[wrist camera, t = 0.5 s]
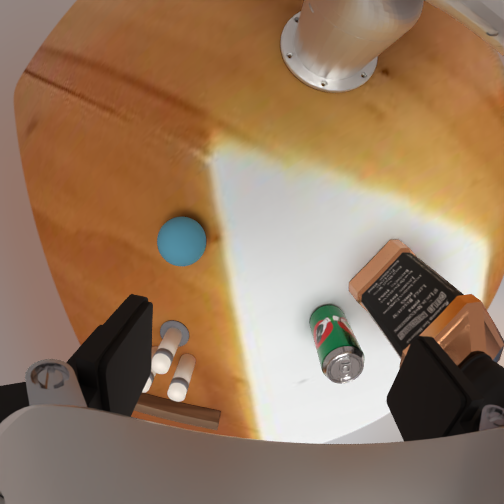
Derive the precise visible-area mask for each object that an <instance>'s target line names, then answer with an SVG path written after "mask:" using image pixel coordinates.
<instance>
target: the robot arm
mask: <svg viewBox="0 0 504 504" xmlns="http://www.w3.org/2000/svg"><path fill="white" fill-rule="evenodd" d="M424 1H426V2H428V3H429V4H431V5H433V6H434V7H436V8H439V9H441V10H442V11H444V12H445V13H447V14H448V15H450V16H451V17H453V18H454V19H456V20H457V21H459V22H460V23H461V24H463V25H464V26H466V27H467V28H468V29H470V30H471V31H472V32H474V33H475V34H476V35H478V36H479V37H480V38H481V39H483V40H484V41H485V42H486V43H488V44H489V45H490V46H492V47H493V48H494V49H495V50H496V51H498V52H499V53H500V54H502V55H503V56H504V0H424ZM422 7H423V0H304V2H303V6H302V10H301V11H300V12H298V13H297V14H295V15H294V16H293V17H292V18H291V19H290V20H289V21H288V22H287V24H286V25H285V27H284V29H283V32H282V35H281V53H282V57H283V59H284V61H285V64H286V65H287V67H288V68H289V70H290V71H291V72H292V73H293V74H294V75H295V76H296V77H297V78H298V79H299V80H300V81H302V82H303V83H305V84H306V85H308V86H310V87H312V88H314V89H317V90H320V91H324V92H331V93H342V92H347V91H351V90H353V89H356V88H358V87H359V86H361V85H362V84H364V83H365V82H366V81H367V80H369V78H370V77H371V76H372V74H373V73H374V71H375V68H376V65H377V59H378V55H379V54H380V53H382V52H383V51H384V50H385V49H387V48H388V47H389V46H390V45H391V44H393V43H394V42H395V41H396V40H398V39H399V38H400V37H401V36H402V35H404V34H405V33H406V32H407V31H409V30H410V29H411V28H412V27H413V26H414V25H415V24H416V22H417V21H418V19H419V17H420V15H421V12H422ZM295 21H298V23H297V22H295ZM287 56H291V58H288V57H287ZM361 75H362V76H363V77H364V78H362V77H361ZM321 84H324V85H325V86H324V87H323V86H321ZM152 315H153V304H152V303H151V302H148V298H147V297H143V296H138V295H133V294H131V295H129V297H128V298H127V299H126V300H125V301H124V302H123V303H122V304H121V305H120V306H119V308H118V309H117V310H116V311H115V312H114V313H113V314H112V315H111V316H110V318H109V319H108V320H107V321H106V322H105V323H104V324H103V325H100V326H98V327H97V328H96V329H95V330H94V332H93V333H92V334H91V335H90V336H89V337H88V338H87V339H86V341H85V342H84V343H83V344H82V345H81V346H80V347H79V349H78V350H77V351H76V352H75V353H74V354H73V356H72V357H71V358H70V359H69V360H68V361H67V363H65V362H63V361H61V360H55V359H45V360H41V361H38V362H36V363H34V364H32V365H31V366H30V367H29V368H28V370H27V372H26V376H25V379H26V382H22V383H16V384H10V385H4V386H0V504H504V409H503V408H501V407H499V406H496V405H486V406H485V407H483V409H482V410H480V409H479V407H480V405H481V404H482V402H483V400H484V398H483V397H482V396H481V394H480V393H479V392H478V391H477V389H476V388H475V387H474V386H473V384H472V383H471V382H470V381H469V379H468V378H467V377H466V376H465V375H464V373H463V372H462V371H461V370H460V369H459V367H458V366H457V365H456V364H455V363H454V361H453V360H452V359H451V358H450V357H449V355H448V354H447V353H446V352H445V351H444V350H443V348H442V347H441V346H440V345H439V344H438V343H437V342H436V340H435V339H434V338H433V337H429V336H418V337H417V338H416V339H414V340H413V341H412V342H411V344H410V346H409V349H408V351H407V354H406V356H405V358H404V361H403V363H402V365H401V367H400V370H399V372H398V374H397V376H396V378H395V381H394V383H393V385H392V387H391V389H390V391H389V393H388V395H387V405H388V407H389V409H390V411H391V413H392V415H393V418H394V420H395V422H396V424H397V426H398V429H399V431H400V433H401V435H402V437H403V440H404V442H391V443H375V444H308V443H290V442H276V441H265V440H256V439H247V438H239V437H231V436H224V435H217V434H211V433H205V432H199V431H194V430H189V429H184V428H179V427H174V426H169V425H165V424H160V423H155V422H151V421H146V420H142V419H137V418H133V417H131V415H132V412H133V410H134V408H135V406H136V404H137V402H138V400H139V397H140V395H141V393H142V391H143V389H144V387H145V385H146V383H147V381H148V378H149V376H150V373H151V366H152Z"/></svg>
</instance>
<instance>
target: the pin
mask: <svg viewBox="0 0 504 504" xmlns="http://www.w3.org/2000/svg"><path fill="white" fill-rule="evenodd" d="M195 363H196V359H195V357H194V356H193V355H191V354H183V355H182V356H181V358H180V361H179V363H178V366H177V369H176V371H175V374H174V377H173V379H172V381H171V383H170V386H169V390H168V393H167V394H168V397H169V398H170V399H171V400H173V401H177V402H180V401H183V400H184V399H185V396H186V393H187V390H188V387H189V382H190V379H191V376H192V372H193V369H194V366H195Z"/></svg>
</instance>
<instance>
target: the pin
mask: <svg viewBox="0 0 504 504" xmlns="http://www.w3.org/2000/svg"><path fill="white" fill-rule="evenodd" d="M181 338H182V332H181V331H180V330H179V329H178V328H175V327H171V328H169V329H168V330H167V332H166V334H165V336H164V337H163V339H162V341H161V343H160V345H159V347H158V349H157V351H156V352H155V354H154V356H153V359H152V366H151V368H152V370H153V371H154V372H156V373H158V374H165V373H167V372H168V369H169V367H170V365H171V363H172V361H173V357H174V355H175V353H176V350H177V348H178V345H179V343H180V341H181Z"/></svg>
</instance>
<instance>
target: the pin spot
mask: <svg viewBox="0 0 504 504" xmlns="http://www.w3.org/2000/svg"><path fill="white" fill-rule="evenodd" d="M171 327H175V328H178V329H179V330H180V331H181V332H182V338H181V341H180V343H179V345H178V347H179V346H183V345H184V344H186V343H187V341H188V339H189V332H188V329H187V328H186V327H185V326H184V325H183V324H182V323H180V322H178V321H167V322H165V323H164V324H163V325H162V327H161V329H160V334H161V337H162V339H163V337H164V336H165V334H166V332H167V330H168V329H169V328H171Z"/></svg>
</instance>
